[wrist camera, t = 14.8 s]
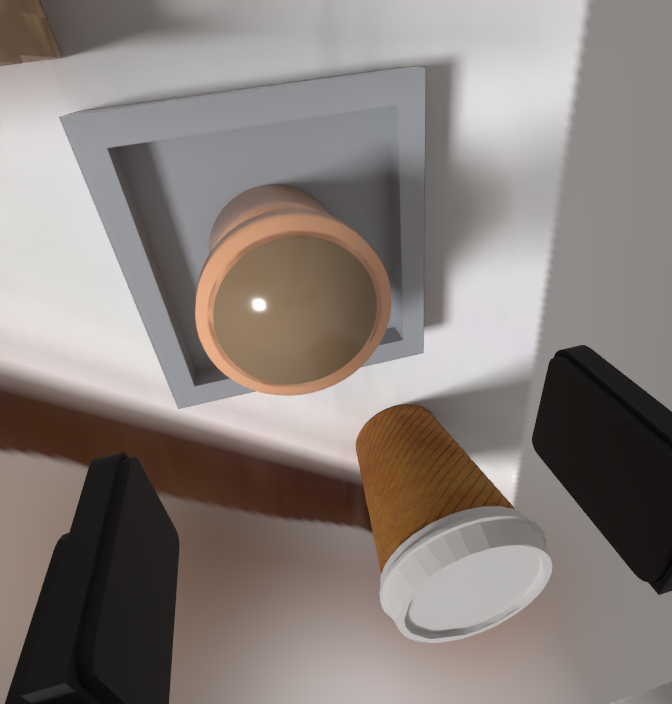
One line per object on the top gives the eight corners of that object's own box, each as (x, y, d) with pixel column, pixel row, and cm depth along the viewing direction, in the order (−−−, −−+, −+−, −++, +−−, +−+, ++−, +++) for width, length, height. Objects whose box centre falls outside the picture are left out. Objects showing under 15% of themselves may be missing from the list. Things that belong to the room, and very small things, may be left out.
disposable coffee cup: (306, 452, 31) (349, 629, 21) (405, 362, 29) (505, 513, 19) (389, 498, 36) (455, 658, 26) (479, 424, 34) (588, 570, 24)
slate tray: (76, 111, 18) (59, 117, 16) (403, 67, 20) (425, 66, 18) (181, 381, 26) (178, 408, 24) (407, 331, 28) (423, 353, 26)
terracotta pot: (180, 189, 19) (166, 240, 14) (338, 163, 20) (388, 200, 15) (221, 328, 23) (224, 413, 18) (352, 301, 24) (395, 373, 19)
